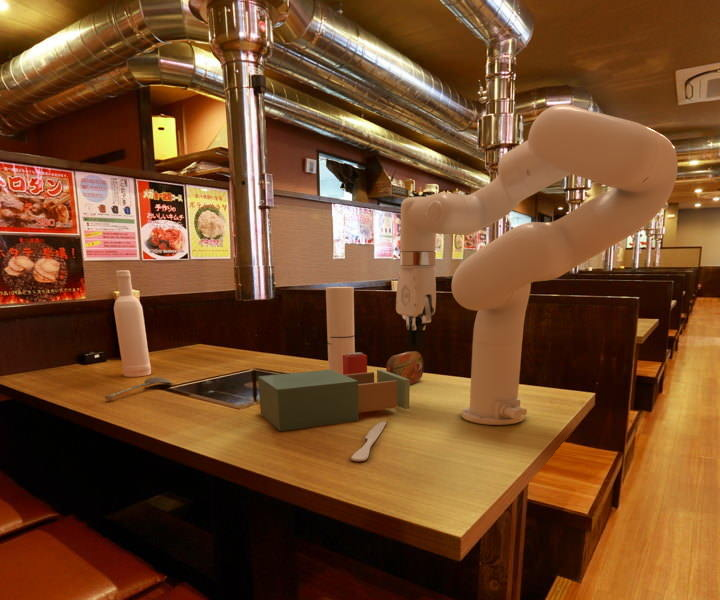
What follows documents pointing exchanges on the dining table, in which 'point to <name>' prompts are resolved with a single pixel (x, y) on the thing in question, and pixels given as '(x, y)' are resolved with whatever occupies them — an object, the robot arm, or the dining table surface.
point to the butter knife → (368, 442)
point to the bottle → (131, 329)
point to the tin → (407, 366)
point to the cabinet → (308, 399)
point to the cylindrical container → (339, 325)
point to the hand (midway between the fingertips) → (415, 347)
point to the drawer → (381, 391)
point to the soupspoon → (147, 382)
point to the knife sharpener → (354, 363)
